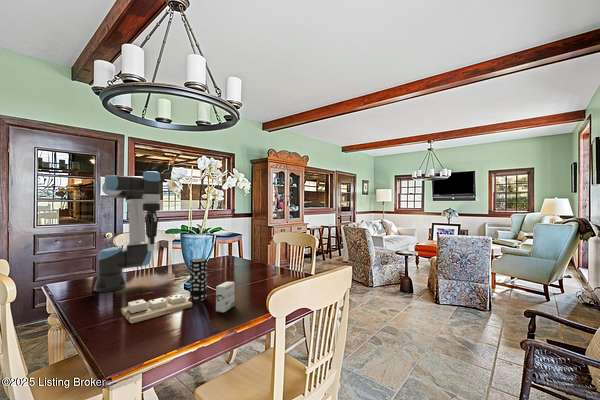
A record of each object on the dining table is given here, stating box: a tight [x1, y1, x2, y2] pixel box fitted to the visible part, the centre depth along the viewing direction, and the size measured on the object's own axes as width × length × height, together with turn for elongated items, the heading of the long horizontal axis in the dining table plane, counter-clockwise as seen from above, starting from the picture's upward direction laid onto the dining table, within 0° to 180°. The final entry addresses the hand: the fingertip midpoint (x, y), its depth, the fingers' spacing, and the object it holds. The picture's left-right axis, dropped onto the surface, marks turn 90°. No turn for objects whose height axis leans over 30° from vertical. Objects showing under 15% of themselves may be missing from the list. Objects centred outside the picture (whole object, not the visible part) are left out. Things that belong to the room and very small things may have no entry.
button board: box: [120, 296, 193, 324], centre depth 129 cm, size 16×26×2 cm, turn 135°
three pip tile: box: [167, 293, 186, 305], centre depth 135 cm, size 6×6×3 cm
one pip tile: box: [127, 299, 148, 314], centre depth 123 cm, size 6×6×3 cm
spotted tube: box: [189, 258, 208, 302], centre depth 144 cm, size 8×8×20 cm
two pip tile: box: [148, 297, 167, 309], centre depth 129 cm, size 6×6×3 cm
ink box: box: [215, 281, 236, 313], centre depth 131 cm, size 9×5×12 cm, turn 158°
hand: (151, 250), depth 136 cm, fingers closed
